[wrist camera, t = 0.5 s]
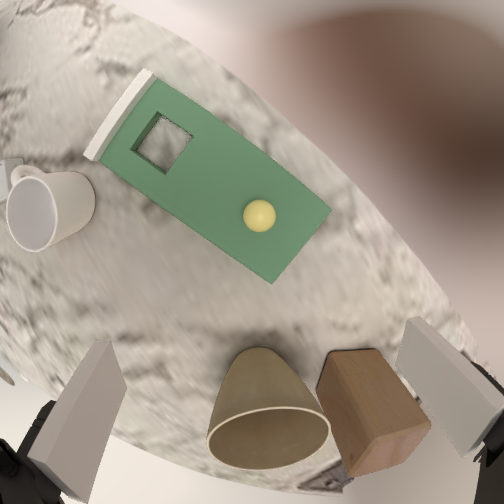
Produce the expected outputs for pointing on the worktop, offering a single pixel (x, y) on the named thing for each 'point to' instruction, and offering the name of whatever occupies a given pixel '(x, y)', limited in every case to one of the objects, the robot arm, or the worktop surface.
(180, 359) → the worktop surface
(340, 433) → the wooden block
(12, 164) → the small box
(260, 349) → the plant pot
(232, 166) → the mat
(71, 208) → the mug
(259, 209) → the ball
